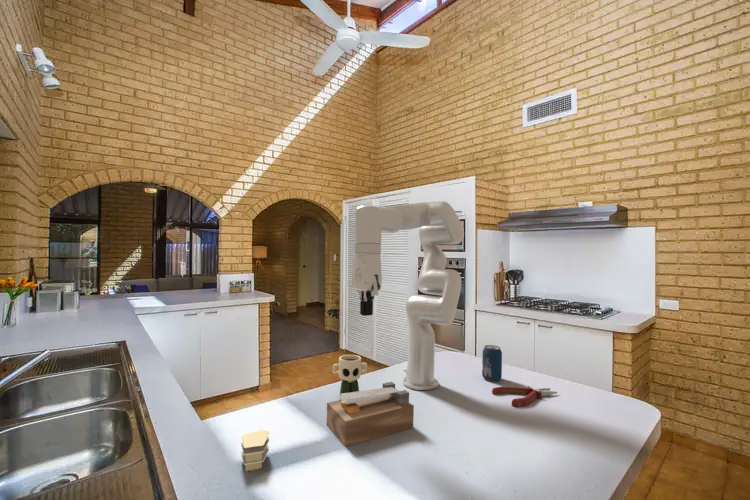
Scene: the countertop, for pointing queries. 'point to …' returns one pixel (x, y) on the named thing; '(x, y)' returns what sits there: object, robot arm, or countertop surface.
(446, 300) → the robot arm
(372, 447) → the countertop surface
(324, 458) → the countertop surface
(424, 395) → the countertop surface
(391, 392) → the latch lever
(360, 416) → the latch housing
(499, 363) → the soda can
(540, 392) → the pliers
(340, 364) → the character mug
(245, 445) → the pale yellow faceted block
